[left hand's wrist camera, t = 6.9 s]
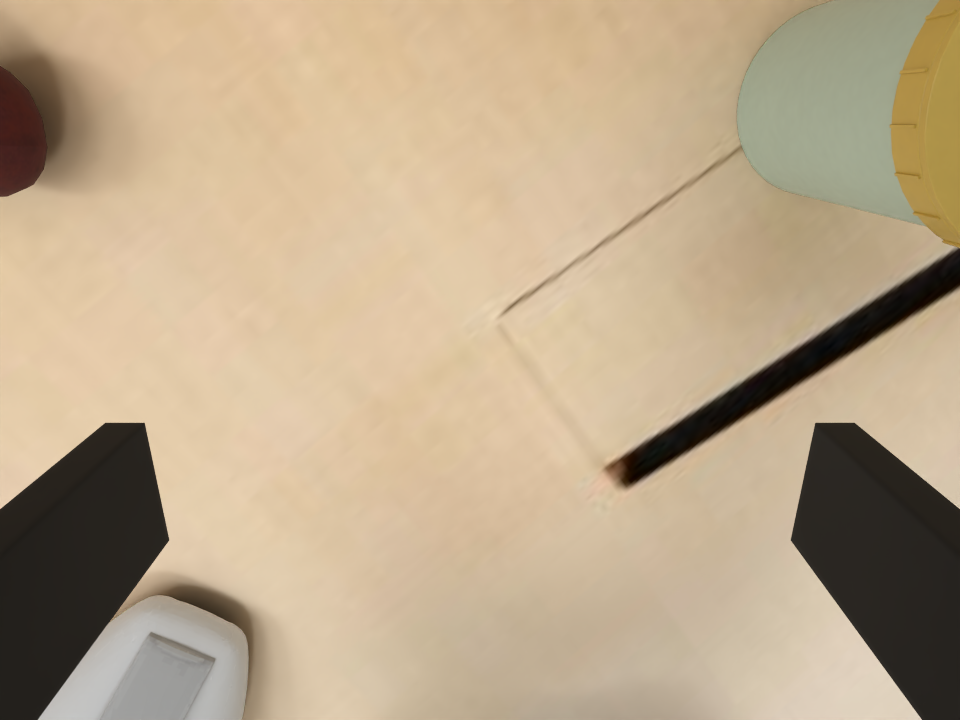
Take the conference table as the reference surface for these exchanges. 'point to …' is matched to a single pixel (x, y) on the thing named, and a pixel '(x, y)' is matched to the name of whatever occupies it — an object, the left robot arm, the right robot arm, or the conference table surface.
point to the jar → (832, 103)
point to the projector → (159, 668)
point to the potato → (19, 137)
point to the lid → (931, 123)
